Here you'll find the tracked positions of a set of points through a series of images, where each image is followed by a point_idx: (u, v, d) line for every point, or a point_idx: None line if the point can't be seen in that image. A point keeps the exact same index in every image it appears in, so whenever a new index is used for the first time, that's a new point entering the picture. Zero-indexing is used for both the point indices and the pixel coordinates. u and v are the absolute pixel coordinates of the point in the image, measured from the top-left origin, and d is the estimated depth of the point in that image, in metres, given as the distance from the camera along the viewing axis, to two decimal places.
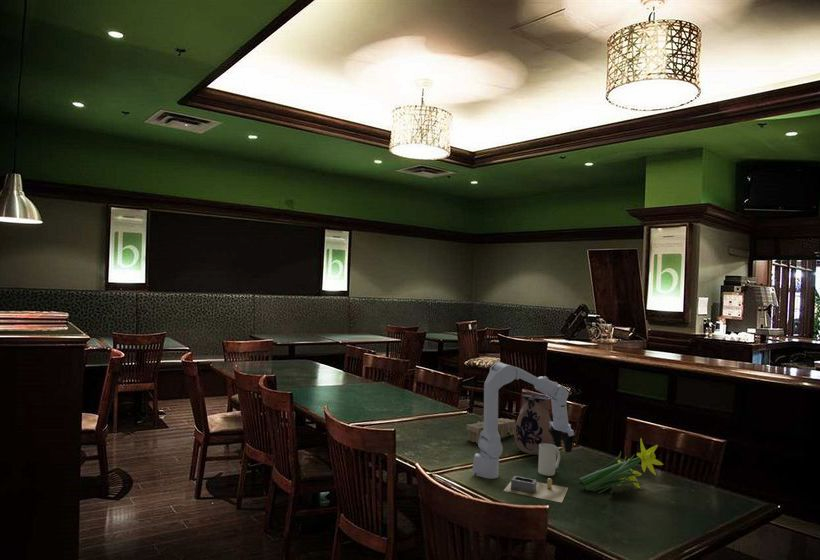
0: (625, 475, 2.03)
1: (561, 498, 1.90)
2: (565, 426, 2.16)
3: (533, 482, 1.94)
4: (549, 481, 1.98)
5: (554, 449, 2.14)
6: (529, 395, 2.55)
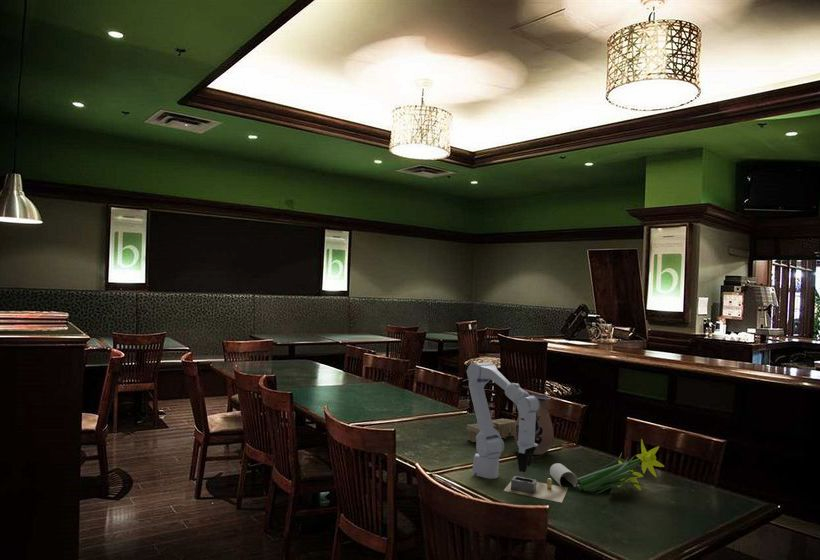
0: (624, 476, 2.01)
1: (561, 498, 1.90)
2: (525, 443, 1.94)
3: (533, 482, 1.94)
4: (549, 481, 1.98)
5: None
6: None
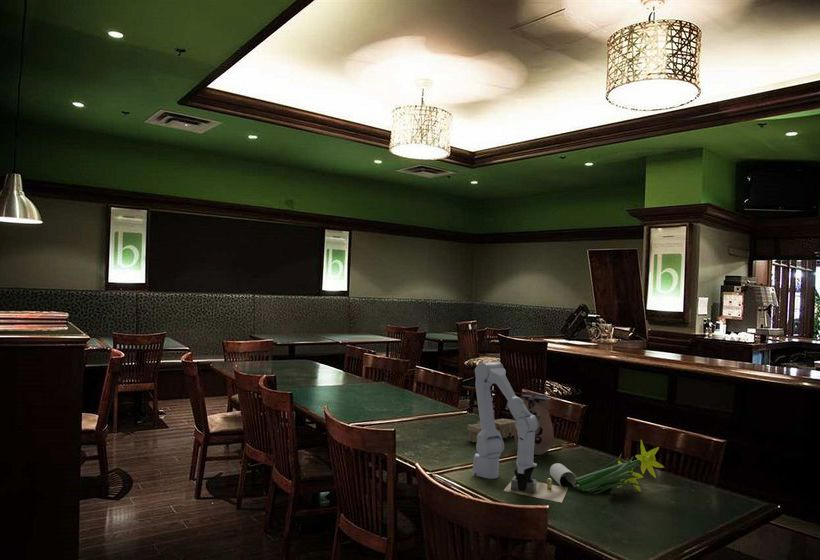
0: (623, 477, 2.01)
1: (561, 498, 1.90)
2: (524, 463, 1.94)
3: (533, 482, 1.94)
4: (549, 481, 1.98)
5: None
6: (529, 395, 2.55)
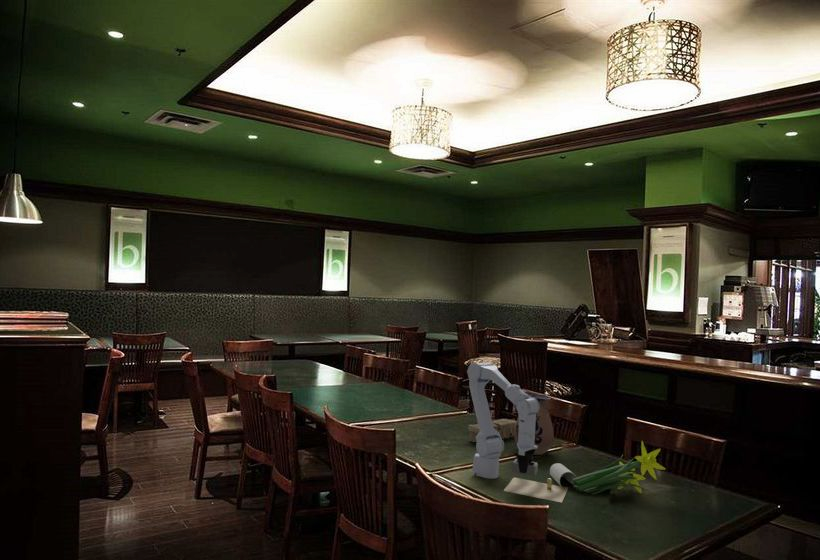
0: (623, 478, 1.99)
1: (561, 498, 1.90)
2: (525, 445, 1.94)
3: (534, 465, 1.95)
4: (549, 481, 1.98)
5: None
6: (529, 395, 2.55)
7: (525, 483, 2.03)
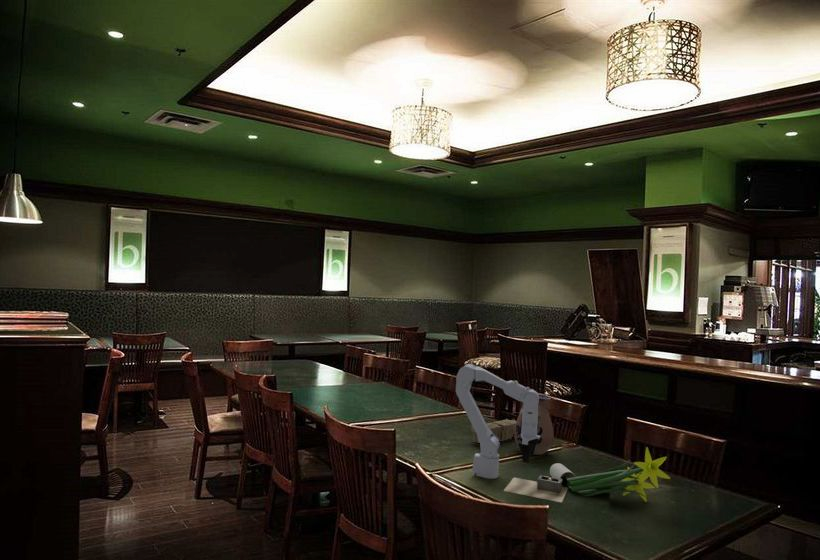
0: (621, 483, 1.94)
1: (561, 498, 1.90)
2: (528, 435, 2.04)
3: (559, 481, 1.97)
4: None
5: None
6: None
7: (525, 483, 2.03)
